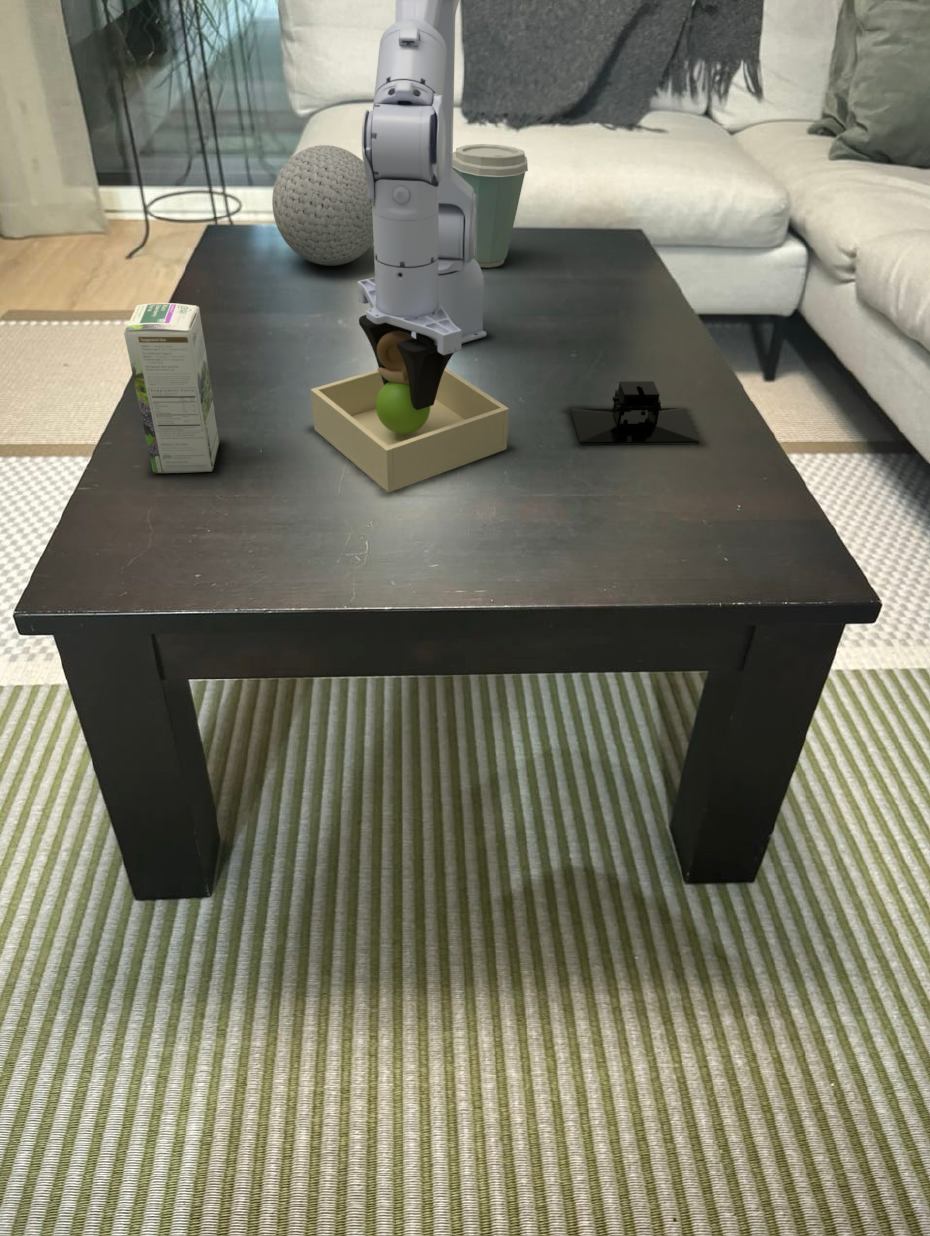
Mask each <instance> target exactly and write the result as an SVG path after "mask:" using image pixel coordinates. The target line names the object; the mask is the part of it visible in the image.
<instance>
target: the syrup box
mask: <svg viewBox="0 0 930 1236" xmlns="http://www.w3.org/2000/svg"><path fill="white" fill-rule="evenodd" d="M123 335H124V340H125V345H126V350H127V354H128V358H129V364H130V369H131V374H132V378H133V383H134V389H135V393H136V397H137V402H138V407H139V411H140V416H141V417H140V418H141V421H142V425H143V430H144V436H145V440H146V445H147V449H148V454H149V459H150V463H151V469H152V472H153V473H155V474H174V473H175V474H180V473H181V474H182V473H183V474H184V473H209V472H213V471H214V467H215V463H216V459H217V455H218V450H219V446H220V434H219V428H218V427H219V426H218V421H217V414H216V408H215V402H214V401H215V400H214V394H213V389H212V381H211V375H210V368H209V362H208V355H207V349H206V344H205V337H204V331H203V324H202V318H201V311H200V307H199V306H197V305H194V304H185V303H176V302H175V303H173V302H157V303H156V302H153V303H143V304H136V306H135V309H134V310H133V313H132V315H131V316H130V319H129V321H128V324H127V326H126V327H125V330H124V332H123Z"/></svg>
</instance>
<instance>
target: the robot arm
mask: <svg viewBox="0 0 930 1236" xmlns="http://www.w3.org/2000/svg"><path fill="white" fill-rule="evenodd" d="M459 3H460V0H395V23H393V24H391V25H390V26H389V27H387V29H386V30H385V31H384V32H383V33H382V35H381V37H380V41H379V47H378V58H377V68H376V75H375V76H376V77H375V78H376V79H375V87H374V97H373V104H372V105H373V106H372V110H371V111H370V110H369V109H366V110H365V111H364V114H363V118H362V126H361V127H362V128H361V156H362V161H363V164H364V169H365V174H366V179H367V189H368V200H369V204H372V208H373V209H372V216H373V241H374V243H373V260H374V277H370V278H366V279H362V280H357V300H358V302H360V303H361V304H365V305H366V304H369V306H370V308H368V309H366V311H365V314H364V315H361V316H360V317H359V318H358V324H359V327H361V329H362V330H363V332H364V334H365V336H366V338H367V340H368V342H369V343H370V346H371V349H372V351H373V354H374V356H375V359H376V363H377V366H378V367H377V368H379V367H381V368H385V367H384V366H383V365H382V363H381V362H380V361H379V358H378V355H377V346H378V343H379V340H380V339H381V338H382V337H383V336H384V335H385V334H387V333H389V332H393V331H401V332H405V333H407V334H409V335H411V336H412V337H413V339H409V340H406V341H402V342H399V343H397V348H398V350H399V352H400V354H401V356H402V358H403V360H404V363H405V366H406V370H407V374H408V379H409V389H410V397H411V402H412V405H413V408H415V409H416V410H420V409H423V408H426V407H429V406H432V405H434V402H435V398H436V394H437V391H438V387H439V384H440V380H441V377H442V375H443V372H444V370H445V368H447V366H448V364H449V361H450V360H451V358H452V357H453V355H454V353H456V352H460V351H462V344H466V343H468V342H472V341H475V340H478V339H482V338H485V337H487V332H486V331H485V330H483V329H484V307H485V306H484V305H485V303H484V301H485V279H484V275H483V272H482V267H480V266H479V264H478V263H477V261H476V260H475V259H474V256H475V246H476V228H477V210H476V194H475V193H474V189H473V187H472V186H471V185H470V184H469V183H467V182H466V181H465V180H464V179H463V178H462V177H461V176H459V175H458V174H457V173H456V172H455V171H454V170H453V168H452V162H453V152H454V146H453V145H454V109H455V108H454V106H455V105H454V104H455V93H454V92H455V59H456V57H455V53H456V51H455V50H456V14H457V10H458V6H459ZM385 369H386V368H385ZM381 377H382V380H383V383H384V385H385V384H386V383H388V382H389V381H388V380H386V379H385V378H384V377H383V376H382V375H381Z"/></svg>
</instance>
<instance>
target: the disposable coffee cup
mask: <svg viewBox="0 0 930 1236" xmlns="http://www.w3.org/2000/svg"><path fill="white" fill-rule="evenodd" d="M452 168H453V170H454V171H455V172H456V173H457V174H458V175H459V176H461V177H462V178H463V179H464V180H465V181H466V182H467V183H469V184H470V185H471V186H472V187H473V189H474V193H475V194H476V210H477V228H476V246H475V256H474V259H475V260H476V261H477V263H478V264H479V266H480V268H495V267H500V266H501V265H503V264H504V263H505V259H507V256H508V252H509V248H510V243H511V238H512V234H513V229H514V225H515V220H516V216H517V212H518V208H519V207H518V206H519V203H520V197H521V194H522V190H523V185H524V180H525V176H526V172H528V171H529V168H528V158H527V156H526V153H525V151H524V149H521V148H517V147H514V146H508V145H504V144H503V145H502V144H489V143H477V144H465V145H462V146H459V147H456V148H455V151H453V162H452Z"/></svg>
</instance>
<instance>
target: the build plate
mask: <svg viewBox="0 0 930 1236" xmlns="http://www.w3.org/2000/svg"><path fill="white" fill-rule="evenodd" d="M660 395H661V394H660V392H659V390H658V387H657V386H656V383H655V382H654V381H649V380H648V381H647V380H646V381H643V380H642V381H641V380H640V381H636V380H635V381H619V382H618V389H615V392H614V396H613V397H612V401H613V404H612V406H613V407H612V408H571V409H570V412H569V413H570V416H571V420H572V424H573V427H574V430H575V433H576V437H577V440H578V443H579V445H581V446H599V445H600V446H603V445H604V446H606V445H607V446H608V445H609V446H612V445H614V446H615V445H616V446H617V445H620V446H621V445H622V446H623V445H698V444H699V443H700V439H699V437H698V436H697V434H696V431H695V429H694V427H693V425H692V423H691V421H690V419H689V417H688V415H687V414H686V413H687V412H686V411H685V409H684V408H682V407H667V408H666V407H662V402H661V400H660Z"/></svg>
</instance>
